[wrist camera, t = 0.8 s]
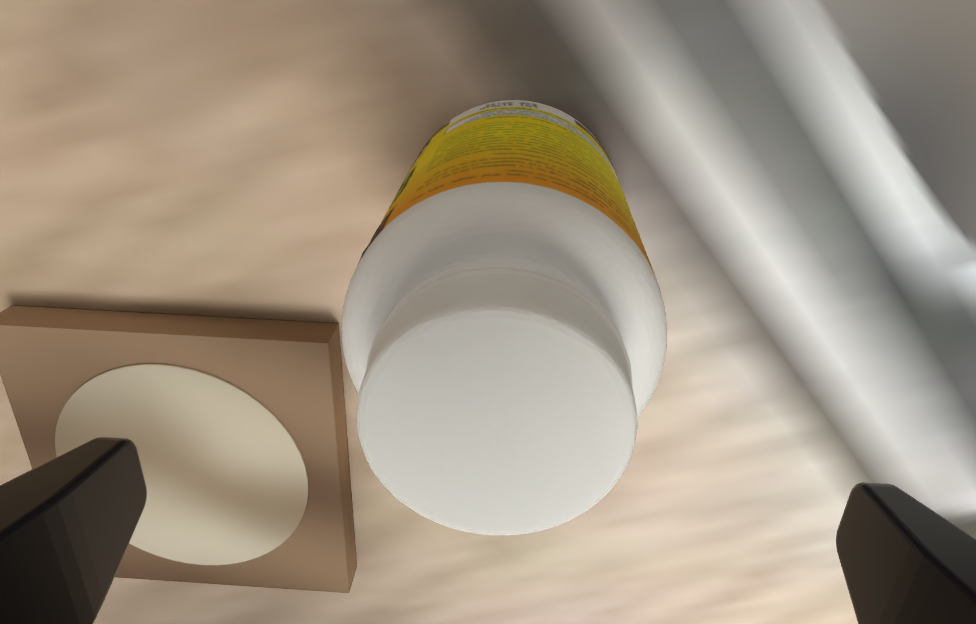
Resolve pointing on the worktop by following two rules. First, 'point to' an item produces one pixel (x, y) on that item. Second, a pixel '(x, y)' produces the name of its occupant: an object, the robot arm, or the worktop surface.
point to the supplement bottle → (504, 325)
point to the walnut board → (200, 435)
